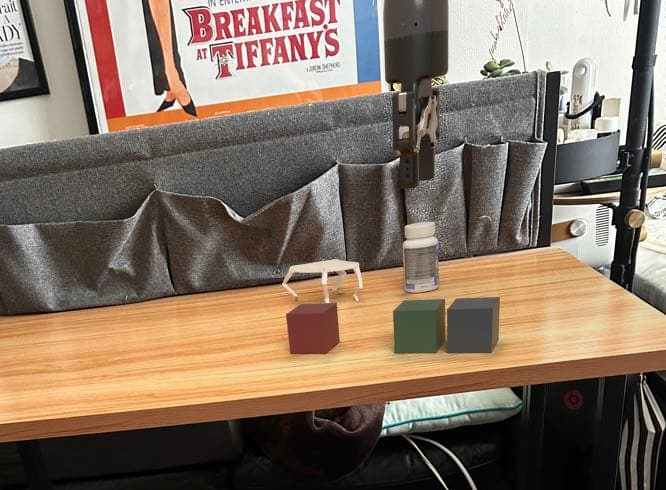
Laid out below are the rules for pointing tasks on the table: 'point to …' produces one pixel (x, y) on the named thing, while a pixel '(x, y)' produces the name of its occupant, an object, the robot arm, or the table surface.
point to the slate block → (473, 325)
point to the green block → (419, 326)
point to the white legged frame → (324, 268)
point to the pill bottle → (420, 258)
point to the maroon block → (313, 328)
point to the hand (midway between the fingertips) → (418, 184)
